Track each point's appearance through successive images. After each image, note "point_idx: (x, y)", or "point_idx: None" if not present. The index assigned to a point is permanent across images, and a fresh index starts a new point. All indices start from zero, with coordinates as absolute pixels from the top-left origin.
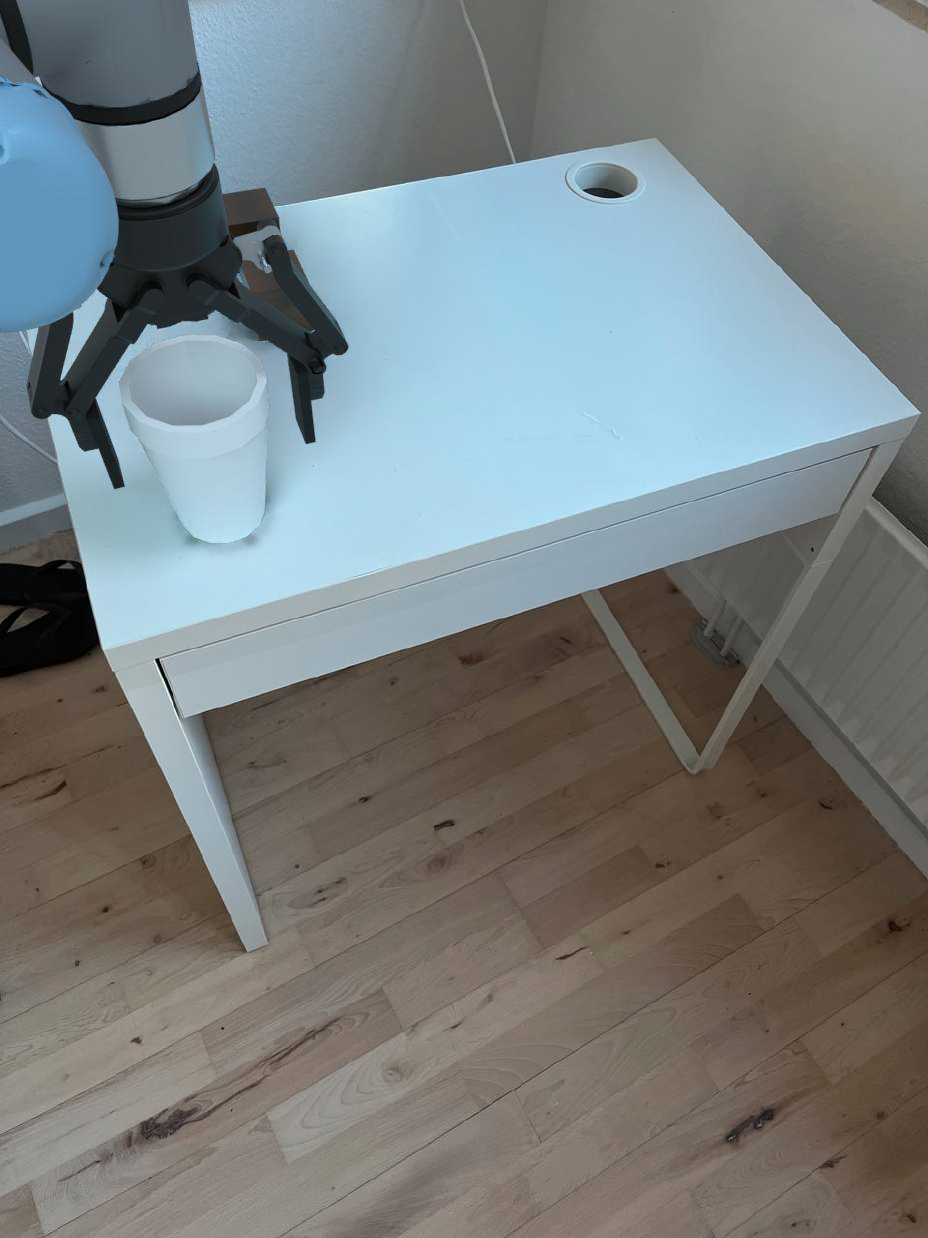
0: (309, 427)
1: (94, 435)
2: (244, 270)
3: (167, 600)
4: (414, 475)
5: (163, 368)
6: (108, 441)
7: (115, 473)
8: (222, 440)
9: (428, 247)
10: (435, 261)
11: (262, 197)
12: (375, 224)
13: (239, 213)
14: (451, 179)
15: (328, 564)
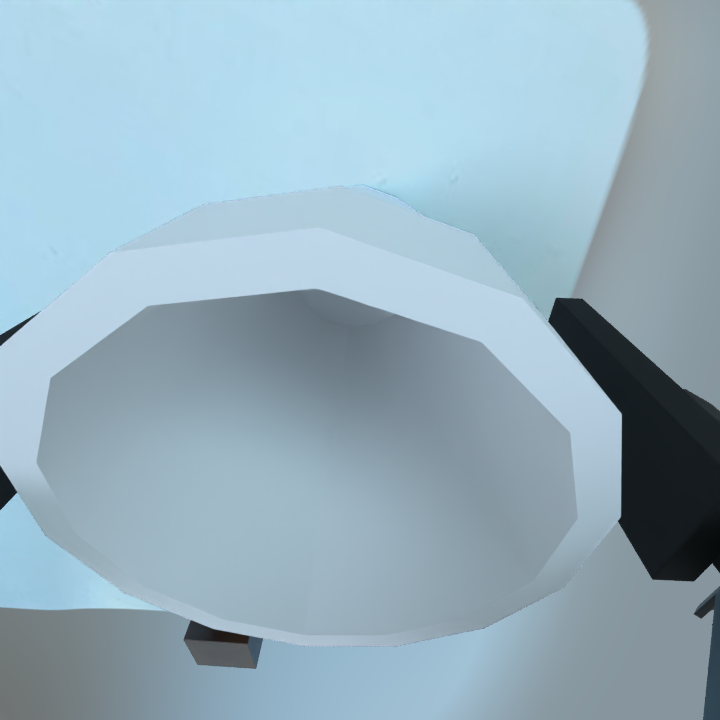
0: None
1: (713, 421)
2: None
3: (520, 71)
4: (15, 227)
5: (387, 559)
6: (646, 392)
7: (591, 320)
8: (249, 212)
9: (44, 555)
10: (33, 540)
11: (201, 657)
12: (107, 587)
13: (229, 650)
14: (28, 608)
15: (180, 44)
